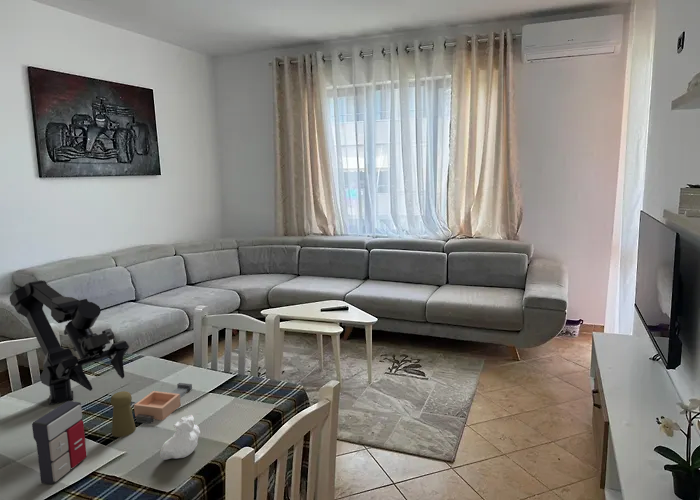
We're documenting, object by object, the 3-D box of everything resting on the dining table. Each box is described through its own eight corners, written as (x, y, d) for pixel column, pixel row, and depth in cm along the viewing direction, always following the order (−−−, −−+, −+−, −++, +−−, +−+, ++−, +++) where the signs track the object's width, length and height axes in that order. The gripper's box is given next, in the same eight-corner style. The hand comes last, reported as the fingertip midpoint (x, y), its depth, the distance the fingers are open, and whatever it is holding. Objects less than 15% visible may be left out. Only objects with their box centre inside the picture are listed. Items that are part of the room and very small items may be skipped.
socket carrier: (135, 416, 141) (134, 404, 141) (154, 402, 150) (153, 390, 149) (162, 420, 139) (162, 408, 139) (180, 405, 148) (179, 393, 147)
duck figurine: (165, 474, 118) (184, 448, 114) (146, 450, 120) (164, 424, 116) (201, 449, 129) (219, 425, 124) (183, 427, 131) (201, 402, 126)
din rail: (136, 422, 138) (136, 416, 138) (179, 387, 159) (179, 382, 159) (150, 423, 137) (150, 417, 137) (192, 389, 158) (191, 384, 158)
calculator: (54, 485, 111) (47, 425, 108) (38, 483, 112) (31, 423, 109) (89, 457, 121) (83, 401, 119) (74, 455, 122) (68, 400, 120)
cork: (116, 425, 136) (113, 388, 134) (139, 424, 137) (136, 388, 135) (108, 437, 130) (104, 399, 129) (131, 436, 131) (128, 398, 129)
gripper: (56, 331, 127) (83, 381, 123) (123, 313, 143) (148, 357, 139) (45, 354, 133) (70, 402, 129) (110, 334, 148) (134, 377, 144)
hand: (107, 383), depth 135 cm, fingers open, 9 cm apart
